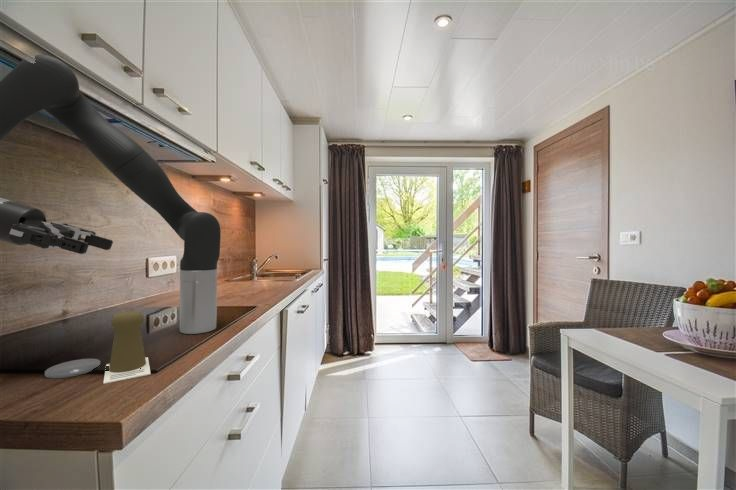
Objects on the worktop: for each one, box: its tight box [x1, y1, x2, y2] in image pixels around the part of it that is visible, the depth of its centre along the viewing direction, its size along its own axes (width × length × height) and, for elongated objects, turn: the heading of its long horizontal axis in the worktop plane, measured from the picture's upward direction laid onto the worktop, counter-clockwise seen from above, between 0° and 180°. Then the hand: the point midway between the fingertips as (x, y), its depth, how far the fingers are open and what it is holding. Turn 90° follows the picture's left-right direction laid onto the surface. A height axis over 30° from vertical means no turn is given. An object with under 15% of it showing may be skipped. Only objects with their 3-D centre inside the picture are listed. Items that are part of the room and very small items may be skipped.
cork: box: [109, 310, 146, 373], centre depth 64 cm, size 6×6×11 cm
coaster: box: [44, 358, 101, 379], centre depth 62 cm, size 8×8×1 cm
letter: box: [102, 356, 152, 385], centre depth 63 cm, size 10×7×1 cm
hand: (99, 247), depth 63 cm, fingers open, 8 cm apart
